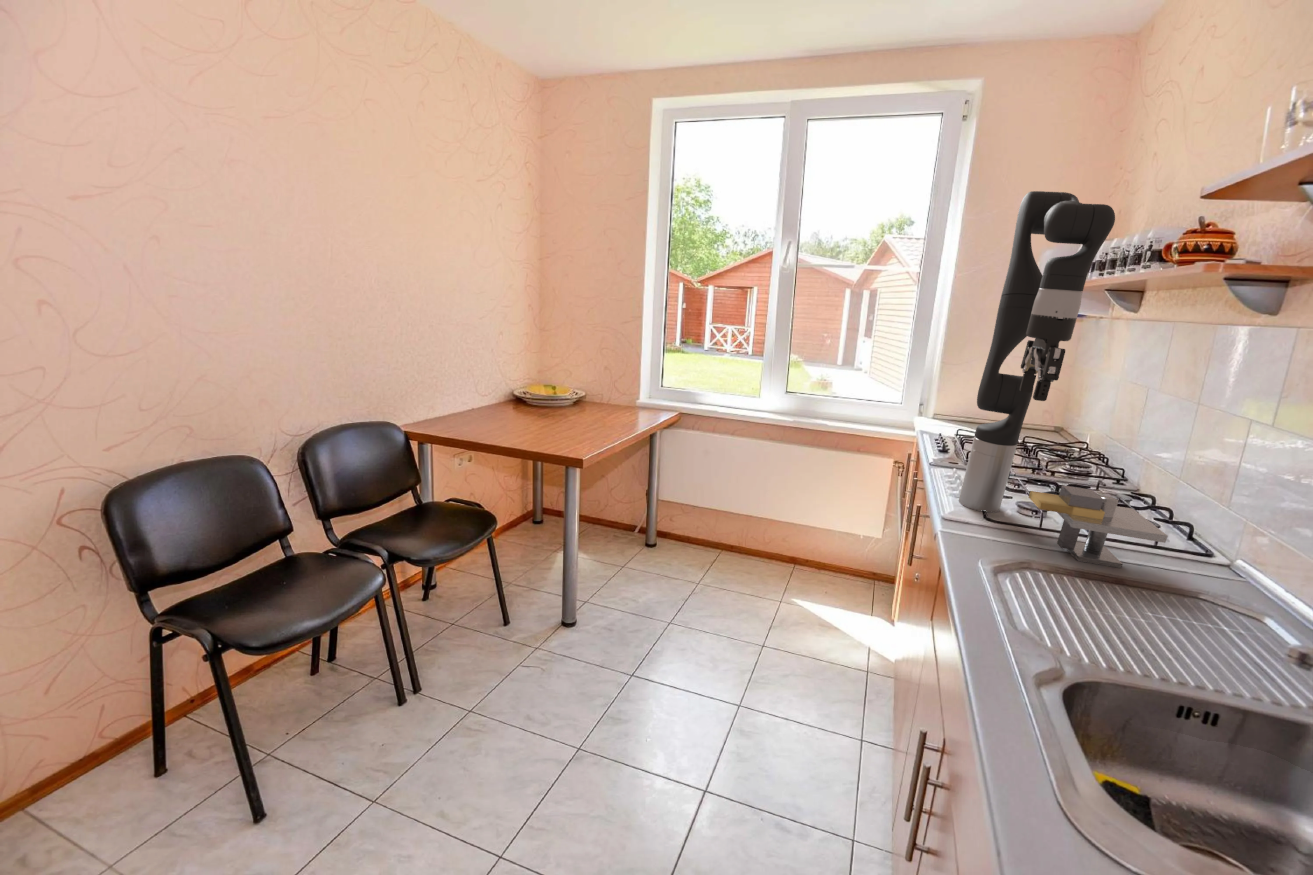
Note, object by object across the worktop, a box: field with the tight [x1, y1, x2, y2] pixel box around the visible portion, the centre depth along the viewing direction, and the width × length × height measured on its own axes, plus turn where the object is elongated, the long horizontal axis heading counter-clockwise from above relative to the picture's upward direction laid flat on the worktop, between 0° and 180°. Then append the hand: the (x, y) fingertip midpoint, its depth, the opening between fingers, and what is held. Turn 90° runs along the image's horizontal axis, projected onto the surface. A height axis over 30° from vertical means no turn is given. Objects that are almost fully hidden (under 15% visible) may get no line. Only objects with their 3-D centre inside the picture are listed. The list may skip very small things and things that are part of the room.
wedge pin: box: [1056, 484, 1103, 550], centre depth 122 cm, size 6×6×12 cm
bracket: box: [1028, 490, 1105, 519], centre depth 122 cm, size 11×7×2 cm, turn 75°
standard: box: [1056, 495, 1169, 569], centre depth 121 cm, size 16×14×13 cm
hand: (1031, 396), depth 117 cm, fingers open, 8 cm apart
